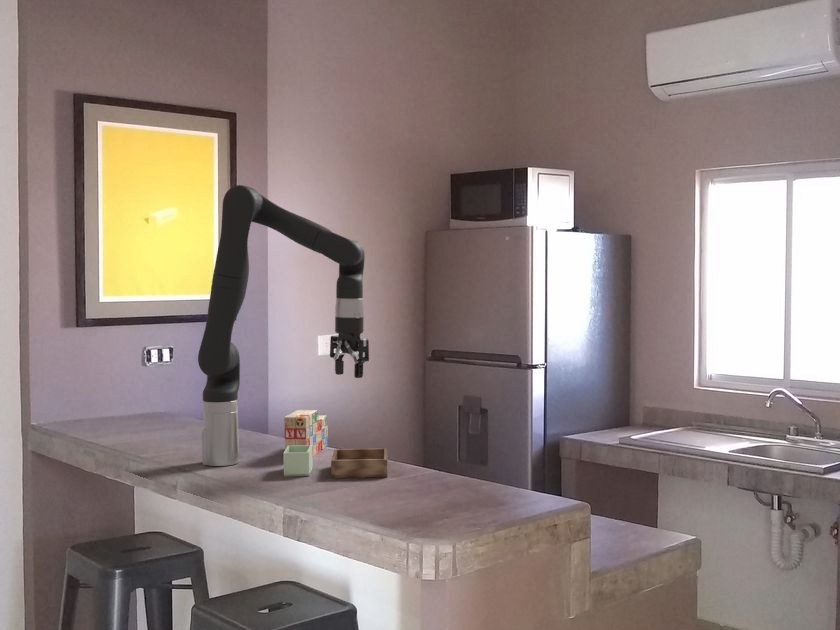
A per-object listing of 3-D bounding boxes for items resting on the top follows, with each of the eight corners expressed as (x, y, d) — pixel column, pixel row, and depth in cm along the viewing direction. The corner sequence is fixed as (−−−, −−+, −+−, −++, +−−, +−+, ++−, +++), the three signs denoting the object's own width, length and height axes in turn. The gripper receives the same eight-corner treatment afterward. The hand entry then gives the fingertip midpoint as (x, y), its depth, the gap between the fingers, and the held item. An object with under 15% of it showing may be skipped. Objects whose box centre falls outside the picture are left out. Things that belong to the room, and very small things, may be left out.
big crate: (331, 478, 238) (331, 460, 237) (334, 466, 252) (334, 449, 252) (387, 477, 238) (387, 459, 238) (387, 465, 253) (387, 448, 252)
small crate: (283, 476, 240) (283, 453, 240) (288, 468, 250) (287, 445, 250) (309, 476, 241) (308, 452, 240) (312, 467, 251) (312, 445, 250)
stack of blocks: (308, 446, 282) (307, 404, 281) (328, 446, 281) (327, 405, 280) (284, 460, 261) (283, 416, 260) (306, 461, 260) (305, 416, 259)
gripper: (322, 314, 255) (321, 374, 256) (354, 317, 244) (353, 379, 245) (344, 313, 260) (344, 372, 261) (377, 316, 249) (376, 377, 250)
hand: (348, 376), depth 253 cm, fingers open, 8 cm apart
